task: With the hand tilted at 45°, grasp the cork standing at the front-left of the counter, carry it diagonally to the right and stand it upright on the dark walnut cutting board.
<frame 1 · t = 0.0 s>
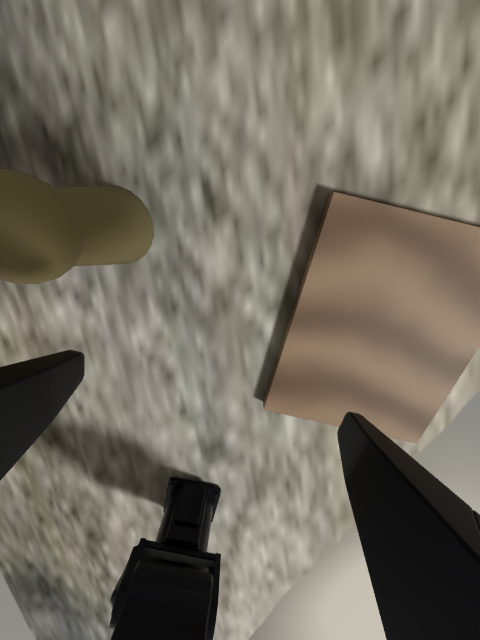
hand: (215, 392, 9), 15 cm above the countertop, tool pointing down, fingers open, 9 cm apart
walnut board: (376, 334, 23), on the countertop
cork: (118, 226, 21), on the countertop
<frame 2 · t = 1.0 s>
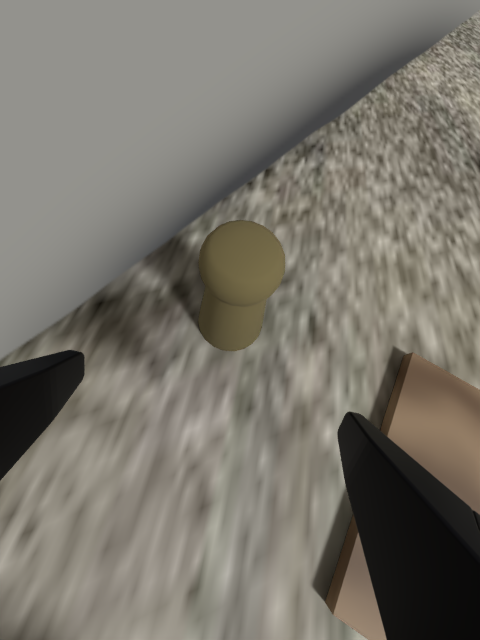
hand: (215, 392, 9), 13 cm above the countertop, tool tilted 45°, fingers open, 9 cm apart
walnut board: (463, 513, 20), on the countertop
cork: (230, 320, 24), on the countertop
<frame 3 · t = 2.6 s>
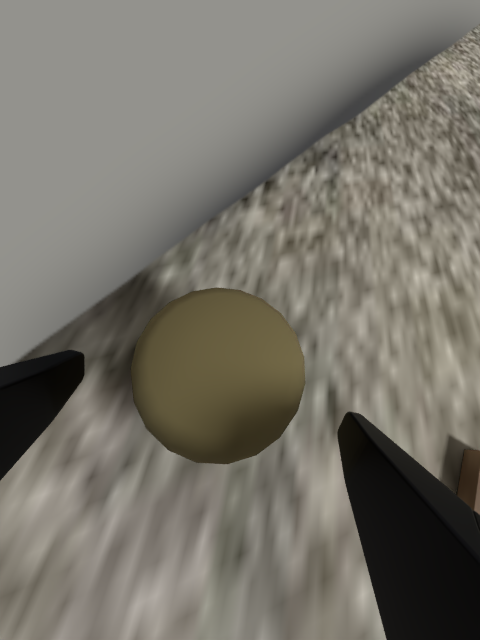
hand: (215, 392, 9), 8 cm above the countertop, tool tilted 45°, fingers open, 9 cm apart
cork: (214, 399, 17), on the countertop
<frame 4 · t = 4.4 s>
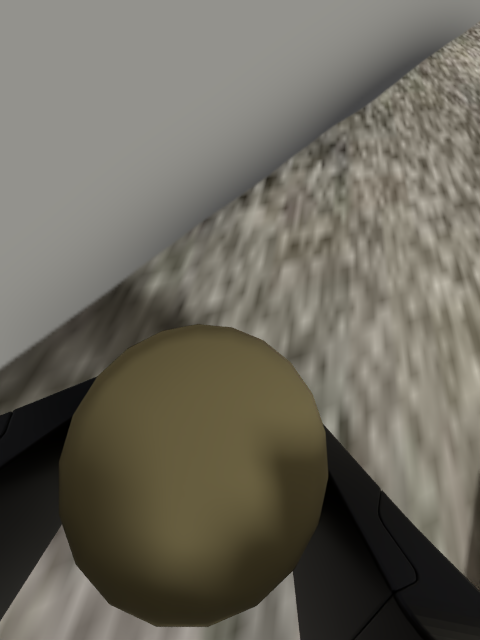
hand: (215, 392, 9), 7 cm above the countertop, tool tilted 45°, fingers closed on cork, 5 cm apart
cork: (206, 432, 14), on the countertop, touching gripper
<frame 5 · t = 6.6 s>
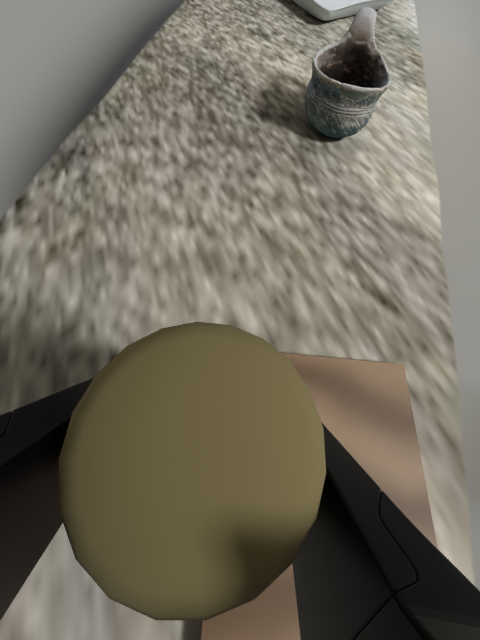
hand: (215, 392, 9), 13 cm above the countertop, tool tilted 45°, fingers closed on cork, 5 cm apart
walnut board: (318, 487, 19), on the countertop
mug: (327, 122, 37), on the countertop
cork: (205, 430, 14), point 6 cm above the countertop, touching gripper
salad plate: (322, 2, 54), on the countertop
when the fingers open (9 cm above the countertop, at t = 9.1 s): cork stays where it is, resting on walnut board.
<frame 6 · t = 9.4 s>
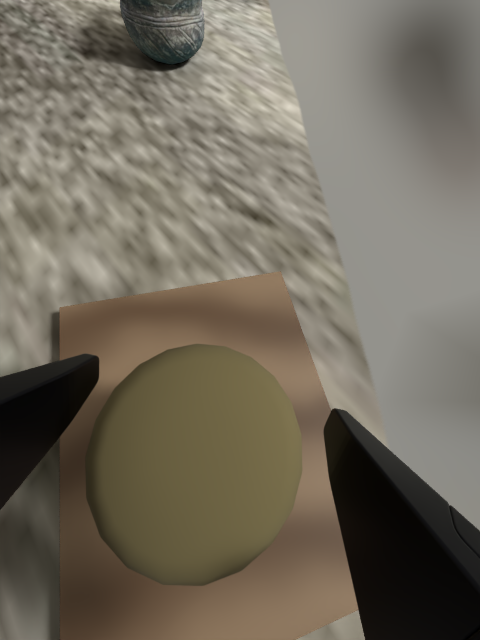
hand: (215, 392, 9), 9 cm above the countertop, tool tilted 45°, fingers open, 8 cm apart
walnut board: (207, 431, 16), on the countertop
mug: (166, 52, 33), on the countertop
cork: (205, 434, 15), point 1 cm above the countertop, touching walnut board
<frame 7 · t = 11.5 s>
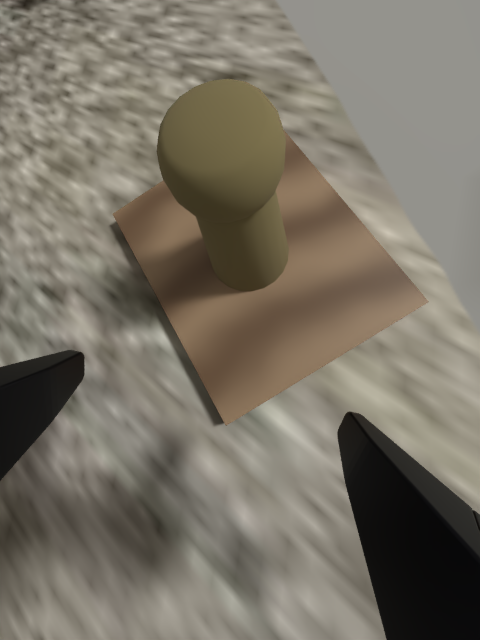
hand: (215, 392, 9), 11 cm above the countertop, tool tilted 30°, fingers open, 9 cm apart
walnut board: (250, 258, 21), on the countertop
cork: (249, 254, 20), point 1 cm above the countertop, touching walnut board
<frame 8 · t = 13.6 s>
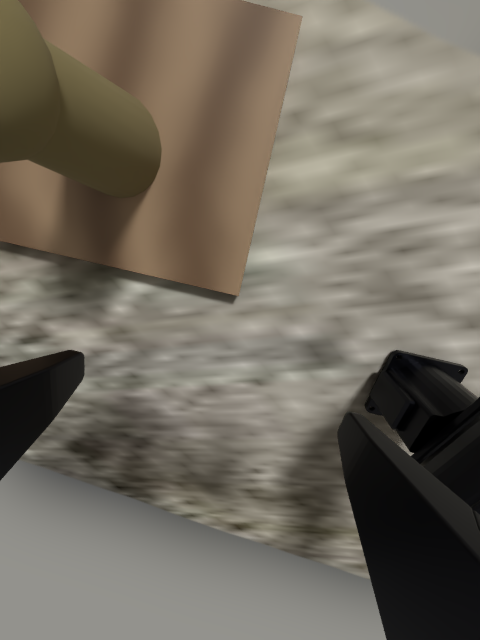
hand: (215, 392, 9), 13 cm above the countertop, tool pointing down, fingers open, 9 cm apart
walnut board: (122, 149, 17), on the countertop
cork: (117, 147, 17), point 1 cm above the countertop, touching walnut board
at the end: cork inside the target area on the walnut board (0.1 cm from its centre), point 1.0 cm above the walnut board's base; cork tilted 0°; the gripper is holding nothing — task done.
